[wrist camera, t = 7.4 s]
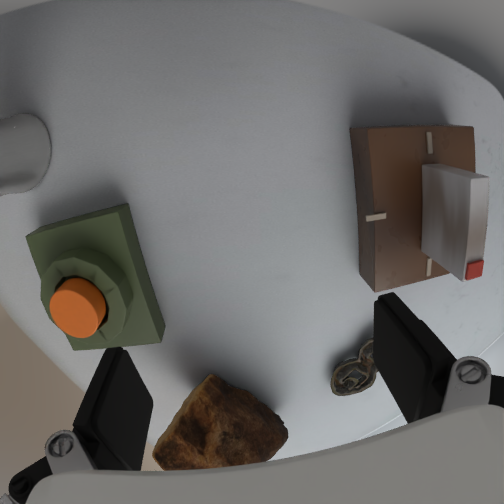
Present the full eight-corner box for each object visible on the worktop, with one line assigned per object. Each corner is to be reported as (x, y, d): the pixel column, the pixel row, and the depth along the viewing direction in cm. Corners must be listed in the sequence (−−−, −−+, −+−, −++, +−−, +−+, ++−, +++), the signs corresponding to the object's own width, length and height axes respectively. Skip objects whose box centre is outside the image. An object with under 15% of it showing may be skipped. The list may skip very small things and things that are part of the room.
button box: (39, 227, 20) (11, 245, 16) (128, 203, 20) (108, 219, 17) (82, 335, 24) (65, 364, 20) (165, 326, 24) (157, 358, 20)
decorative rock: (159, 384, 26) (141, 484, 16) (202, 349, 25) (194, 460, 15) (251, 436, 30) (260, 522, 20) (295, 409, 29) (316, 500, 19)
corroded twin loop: (407, 341, 27) (412, 347, 26) (349, 395, 29) (352, 403, 28) (378, 318, 25) (383, 325, 24) (315, 379, 27) (318, 387, 26)
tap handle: (421, 164, 18) (473, 179, 13) (439, 163, 18) (492, 177, 13) (420, 250, 20) (464, 284, 15) (438, 247, 20) (482, 278, 15)
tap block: (340, 128, 19) (358, 128, 17) (455, 124, 20) (480, 127, 17) (352, 276, 24) (367, 296, 21) (454, 252, 24) (475, 267, 21)
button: (52, 281, 18) (40, 293, 16) (95, 273, 18) (85, 285, 16) (72, 326, 19) (62, 340, 18) (114, 321, 19) (106, 336, 18)
